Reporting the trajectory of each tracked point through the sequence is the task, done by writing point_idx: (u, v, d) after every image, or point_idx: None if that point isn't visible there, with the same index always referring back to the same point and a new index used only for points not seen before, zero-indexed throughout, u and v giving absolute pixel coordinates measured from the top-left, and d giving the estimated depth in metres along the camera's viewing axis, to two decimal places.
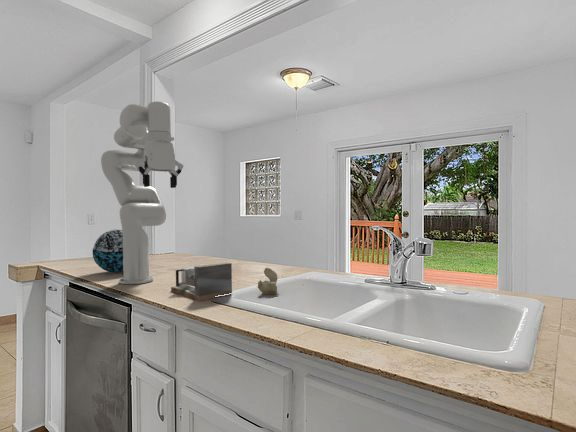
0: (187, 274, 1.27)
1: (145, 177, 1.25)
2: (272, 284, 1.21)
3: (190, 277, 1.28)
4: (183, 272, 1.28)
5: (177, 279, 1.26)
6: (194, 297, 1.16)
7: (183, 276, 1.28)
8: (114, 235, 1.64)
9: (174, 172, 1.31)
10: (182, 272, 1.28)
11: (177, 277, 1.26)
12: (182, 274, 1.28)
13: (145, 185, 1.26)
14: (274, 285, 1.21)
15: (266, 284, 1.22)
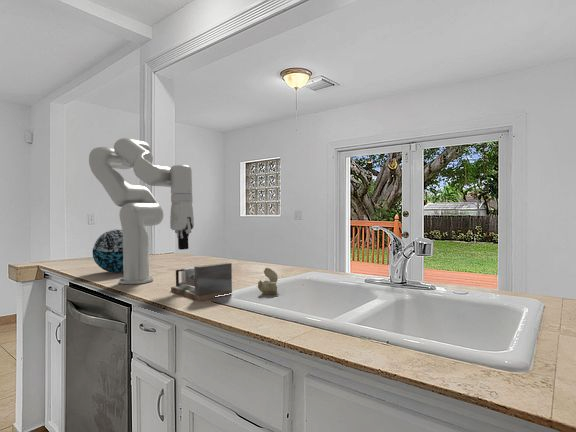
0: (187, 274, 1.27)
1: None
2: (272, 284, 1.21)
3: (190, 277, 1.28)
4: (183, 272, 1.28)
5: (177, 279, 1.26)
6: (194, 297, 1.16)
7: (183, 276, 1.28)
8: (114, 235, 1.64)
9: None
10: (182, 272, 1.28)
11: (177, 277, 1.26)
12: (182, 274, 1.28)
13: (183, 248, 1.34)
14: (274, 285, 1.21)
15: (266, 284, 1.22)
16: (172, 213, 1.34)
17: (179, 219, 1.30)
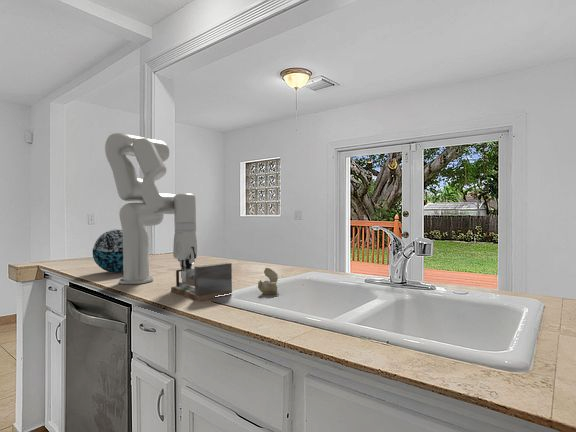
0: (187, 274, 1.27)
1: None
2: (272, 284, 1.21)
3: (190, 277, 1.28)
4: (183, 272, 1.28)
5: (177, 279, 1.26)
6: (194, 297, 1.16)
7: (183, 276, 1.28)
8: (114, 235, 1.64)
9: None
10: (182, 272, 1.28)
11: (177, 277, 1.26)
12: (182, 274, 1.28)
13: None
14: (274, 285, 1.21)
15: (266, 284, 1.22)
16: (175, 242, 1.32)
17: (182, 249, 1.29)
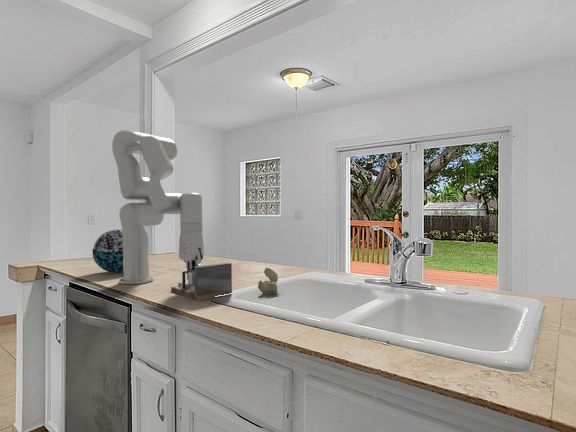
0: (194, 275, 1.24)
1: None
2: (272, 284, 1.21)
3: None
4: (190, 274, 1.24)
5: (184, 281, 1.23)
6: (194, 297, 1.16)
7: (189, 278, 1.25)
8: (114, 235, 1.64)
9: None
10: (189, 274, 1.25)
11: (184, 279, 1.23)
12: (189, 276, 1.25)
13: None
14: (274, 285, 1.21)
15: (266, 284, 1.22)
16: (181, 242, 1.29)
17: (189, 250, 1.25)
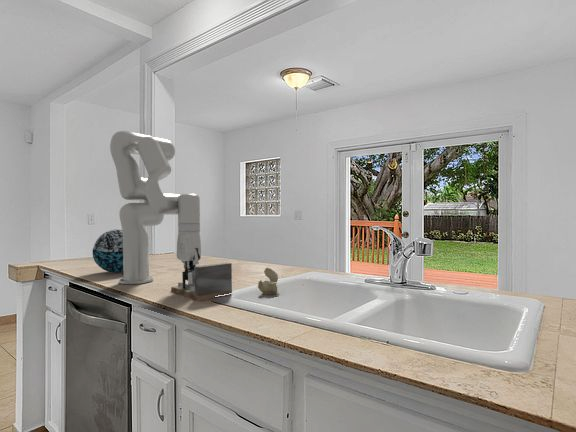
0: (194, 275, 1.24)
1: None
2: (272, 284, 1.21)
3: None
4: (190, 274, 1.24)
5: (184, 281, 1.23)
6: (194, 297, 1.16)
7: (189, 278, 1.25)
8: (114, 235, 1.64)
9: None
10: (189, 274, 1.25)
11: (184, 279, 1.23)
12: (189, 276, 1.25)
13: None
14: (274, 285, 1.21)
15: (266, 284, 1.22)
16: (179, 243, 1.30)
17: (186, 250, 1.26)
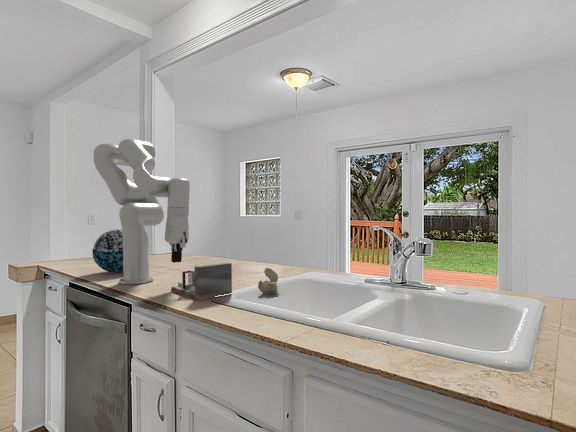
0: (194, 275, 1.24)
1: None
2: (272, 284, 1.21)
3: None
4: (190, 274, 1.24)
5: (184, 281, 1.23)
6: (194, 297, 1.16)
7: (189, 278, 1.25)
8: (114, 235, 1.64)
9: None
10: (189, 274, 1.25)
11: (184, 279, 1.23)
12: (189, 276, 1.25)
13: (176, 261, 1.34)
14: (274, 285, 1.21)
15: (266, 284, 1.22)
16: (167, 225, 1.34)
17: (174, 233, 1.30)
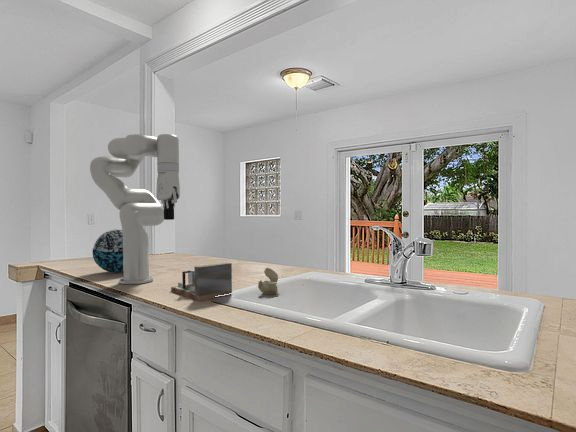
0: (194, 275, 1.24)
1: None
2: (272, 284, 1.21)
3: None
4: (190, 274, 1.24)
5: (184, 281, 1.23)
6: (194, 297, 1.16)
7: (189, 278, 1.25)
8: (114, 235, 1.64)
9: None
10: (189, 274, 1.25)
11: (184, 279, 1.23)
12: (189, 276, 1.25)
13: (169, 218, 1.32)
14: (274, 285, 1.21)
15: (266, 284, 1.22)
16: (158, 183, 1.33)
17: (165, 188, 1.29)
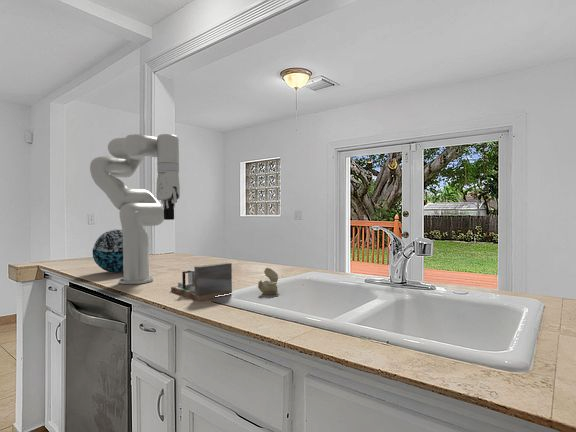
0: (194, 275, 1.24)
1: None
2: (272, 284, 1.21)
3: None
4: (190, 274, 1.24)
5: (184, 281, 1.23)
6: (194, 297, 1.16)
7: (189, 278, 1.25)
8: (114, 235, 1.64)
9: None
10: (189, 274, 1.25)
11: (184, 279, 1.23)
12: (189, 276, 1.25)
13: (169, 218, 1.32)
14: (274, 285, 1.20)
15: (266, 284, 1.22)
16: (158, 183, 1.33)
17: (165, 188, 1.29)
